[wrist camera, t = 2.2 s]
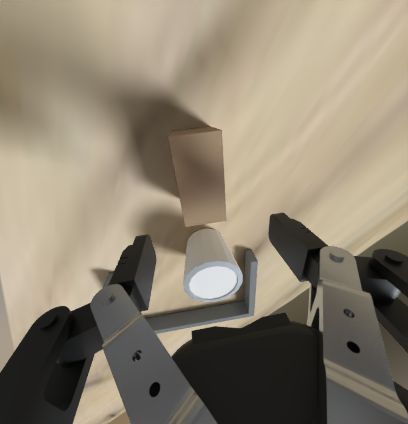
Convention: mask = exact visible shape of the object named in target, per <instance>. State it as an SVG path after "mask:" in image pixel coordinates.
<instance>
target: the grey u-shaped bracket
mask: <svg viewBox="0 0 408 424" xmlns="http://www.w3.org/2000/svg"><path fill="white" fill-rule="evenodd" d="M257 264H258V261H257V259H256V257H255V255H254V253H253V251H252V249H251V250H245V295H244V301H240V302H234V303H229V304H223V305H218V306H212V307H206V308H201V309H195V310H190V311H184V312H179V313H173V314H167V315H162V316H156V317H151V318H145V319H146V320H147V322H148V323H149V325H150V326H151V328H152V329H153V331H154V332H155V334H157V333H162V332H168V331H173V330H179V329H184V328H190V327H195V326H200V325H206V324H211V323H217V322H222V321H227V320H233V319H238V318H244V317H249V316H254V308H255V293H256V278H257ZM113 273H114V272H112V273H109V275H108V277H107V279H106V282H105V284H104V286H103V288H105V287H107V286H108V284H109V282H110V280H111V278H112V275H113Z"/></svg>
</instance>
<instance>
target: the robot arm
mask: <svg viewBox="0 0 408 424" xmlns="http://www.w3.org/2000/svg"><path fill="white" fill-rule="evenodd" d="M269 239H270V242H271V243H272V245H273V246H274V247H275V249H276V250H277V251H278V253H279V254H280V255H281V257H282V258H283V259H284V261H285V262H286V264H287V265H288V266H289V268H290V269H291V270H292V272H293V273H294V274H295V276H296V277H297V278H298V280H299V281H300V282H304V281H309V282H310V283H311V285H310V294H309V310H308V321H307V325H306V324H303V323H300V322H296V321H290V320H289V318H288V317H287V315H286V313H281V314H276V315H271V316H265V317H262V318H260V319H258V320H256V321H254V322H253V323H251V324H249V325H247V326H245V327H243V328H228V327H217V326H215V327H209V328H204V329H199V330H194V331H192V339H191V340H190V341H188V342H186V343H185V344H184V345H182V346H181V347H180V348H179V349H178V350H177V351H176V352H175V353H174V354H173V355H172V357H171V356H170V355H169V353H168V352H167V350H166V349H165V347H164V346H163V344H162V343H161V341H160V340H159V338H158V337H157V335H156V334H155V332H154V331H153V329H152V328H151V326H150V325H149V323H148V322H147V320H146V319H145V318H144V316H143V315H142V313H141V311H145V310H148V307H149V301H150V295H151V289H152V283H153V277H154V271H155V266H156V254H155V250H154V247H153V244H152V241H151V238H150V236H149V235H141V236H136V237H135V240H134V243H133V245H129V246H128V247H127V248H126V249H125V250H124V251H123V252H122V255H121V257H120V260H119V261H118V265H117V266H116V268H115V271H114V273H113V275H112V278H111V280H110V282H109V284H108V286H107V287H105V288H103V289H101V290H100V291H99V292H98V293H97V294H96V295H95V296H94V297H93V299H92V301H91V303H89V304H87V305H85V306H82V307H80V308H78V309H76V310H73V311H70V310H69V309H68V307H66V306H59V307H56V308H53V309H51V310H49V311H48V312H46V313H45V314H43V315H42V316H41V317H39V318H38V319H37V320H36V321H35V322H34V324H33V325H32V326H31V328H30V329H29V331H28V332H27V334H26V335H25V337H24V338H23V340H22V341H21V343H20V344H19V346H18V347H17V349H16V350H15V352H14V353H13V355H12V356H11V358H10V359H9V361H8V362H7V364H6V365H5V367H4V368H3V370H2V371H1V373H0V424H73V421H74V417H75V414H76V411H77V408H78V405H79V402H80V398H81V395H82V392H83V389H84V386H85V383H86V380H87V376H88V373H89V370H90V367H91V364H92V361H93V357H94V354H95V353H97V352H98V351H100V350H102V349H103V350H104V353H105V356H106V358H107V361H108V364H109V366H110V369H111V372H112V374H113V377H114V380H115V382H116V385H117V388H118V390H119V393H120V396H121V398H122V401H123V404H124V406H125V409H126V412H127V415H128V417H129V419H130V423H131V424H408V390H406V389H405V388H403V387H402V386H400V385H399V384H397V383H396V382H394V381H393V379H392V375H391V371H390V367H389V363H388V359H387V356H386V352H385V348H384V344H383V340H382V336H381V332H380V328H379V324H378V321H379V322H380V323H381V324H382V326H383V327H384V328H385V329H386V330H387V331H388V332H389V333H390V334H391V335H392V336H393V337H394V339H395V340H396V341H397V342H398V343H399V344H400V345H401V346H402V347H403V348H404V349H405V351H406V352H407V353H408V306H407V305H405V304H404V303H403V302H402V301H401V300H399V299H398V298H397V296H398V295H399V293H400V292H402V293H403V294H404V295H406V296H407V297H408V257H407V256H405V255H403V254H401V253H399V252H396V251H392V250H387V249H378V250H375V251H374V252H373V254H372V256H371V257H358V256H353V255H352V254H351V253H349V252H348V251H346V250H344V249H342V248H339V247H334V246H328V245H327V244H325V243H324V242H323V241H322V240H321V239H319V238H318V237H317V236H316V235H315V234H314V233H312V232H311V231H310V230H309V229H308V228H306V227H305V226H304V225H303V224H302V223H301V222H299V221H296V220H294V219H290V218H289V217H288V216H287V215H286V214H285V213H278V214H272V215H271V216H270V223H269Z"/></svg>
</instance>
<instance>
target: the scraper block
mask: <svg viewBox="0 0 408 424" xmlns="http://www.w3.org/2000/svg"><path fill="white" fill-rule="evenodd" d="M168 140H169V145H170V150H171V156H172V161H173V166H174V171H175V176H176V181H177V186H178V192H179V197H180V202H181V207H182V212H183V217H184V222H185V227H189V226H196V225H202V224H208V223H215V222H221V221H226V204H225V184H224V164H223V144H222V130H220V129H217V128H214V127H211V126H208V127H201V128H193V129H185V130H177V131H171V133H170V135H169V136H168Z"/></svg>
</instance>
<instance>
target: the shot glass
mask: <svg viewBox="0 0 408 424" xmlns="http://www.w3.org/2000/svg"><path fill="white" fill-rule="evenodd" d="M242 282H243V274H242V272H241V270H240V268H239V266H238V264H237V262H236V260H235V259H234V257H233V255H232V253H231V251H230V249H229V247H228V245H227V243H226V241H225V239H224V237H223V236H222V234H221V233H220V232H218V231H217V230H214V229H209V228H207V229H200V230H198V231H196V232H194V233H193V234H192V235H191V236H190V237H189V239H188V242H187V248H186V259H185V270H184V281H183V286H184V290H185V292H186V293H187V294H188V295H189V296H190V298H192V299H195V300H197V301H201V302H214V301H220V300H223V299H225V298H227V297H230V296H231V295H233V294H234V293H235V292H236V291H237V290H238V289H239V288H240V286H241V284H242Z"/></svg>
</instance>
